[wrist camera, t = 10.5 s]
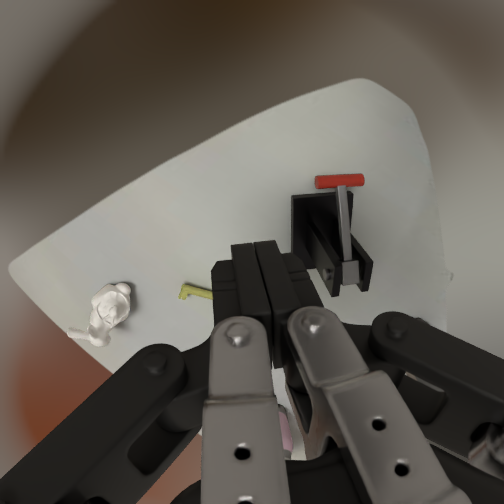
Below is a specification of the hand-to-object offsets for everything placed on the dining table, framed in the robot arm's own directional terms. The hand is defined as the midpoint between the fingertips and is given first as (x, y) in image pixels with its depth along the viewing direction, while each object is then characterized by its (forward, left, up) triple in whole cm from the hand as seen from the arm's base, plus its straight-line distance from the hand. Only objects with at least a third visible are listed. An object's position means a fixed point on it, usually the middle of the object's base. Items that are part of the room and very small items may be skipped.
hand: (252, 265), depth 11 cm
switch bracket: (+10, +19, -32) cm, 39 cm away
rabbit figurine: (+31, -10, -32) cm, 46 cm away
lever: (+6, +17, -24) cm, 30 cm away
